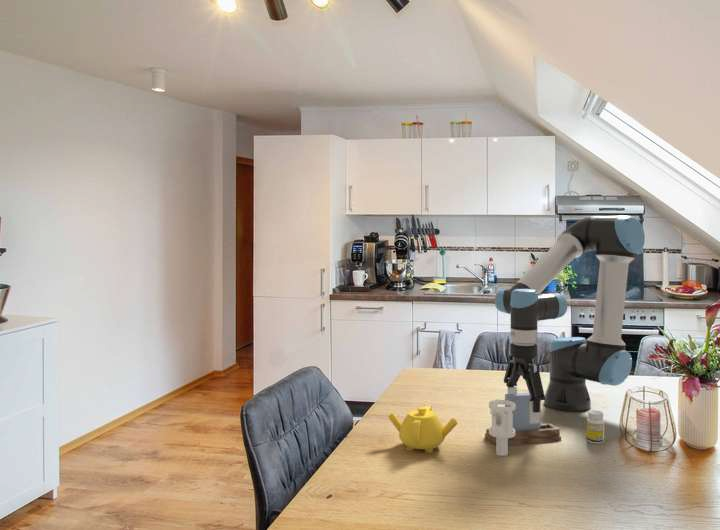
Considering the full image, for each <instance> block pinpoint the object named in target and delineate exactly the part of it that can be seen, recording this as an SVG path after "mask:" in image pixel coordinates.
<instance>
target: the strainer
mask: <svg viewBox="0 0 720 530" xmlns="http://www.w3.org/2000/svg"><path fill="white" fill-rule="evenodd" d="M498 405H504V406H498ZM505 405H510V406H511V407H505ZM488 408H489V411H490V414H491V426H490V427H488V429H489V434H490V435H491V436H493V437H496V445H495V448H496V449H495V454H496V455H498V456H501V457H502V456H503V457H504V456H508V455H509V454H508V453H509V451H508V449H509V448H508V447H509V445H508V438H512V437H514V436H515V432H516V431H515V429H514V428H513V414H512V411H513V410H515V409H516V404H515V403H514V402H511V401H507V400H505V399H495V400H494V399H493V400H490V401H489V402H488Z"/></svg>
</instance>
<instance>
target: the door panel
mask: <svg viewBox="0 0 720 530" xmlns="http://www.w3.org/2000/svg"><path fill="white" fill-rule="evenodd" d="M530 399H531V396H530V393H529V392H521V393H520V392H517V393H516V394H508V393H506V394H504V400H507V401H511V402H514V403H515V404H516V409H515V410H513V411H512V414H513V428H514V429H515V431H525V430H536V429H540V426H541V424H542V423H541V422H542V421H541V409H542V408H541V407H542V406H541V405H542V403H541V401H542V400H541V401H540V423H534V424H530V423H529V418H530V401H529V400H530ZM504 407H511V406H510V405H504Z"/></svg>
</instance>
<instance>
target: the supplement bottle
mask: <svg viewBox="0 0 720 530" xmlns="http://www.w3.org/2000/svg"><path fill="white" fill-rule="evenodd" d="M587 416H588V418H586V441H587V442H589V443H591V444H596V445H598V444H604V442H605V420H604V412H603V411H600V410H595V409H593V410H591V409H590V410H589V411H588V413H587Z"/></svg>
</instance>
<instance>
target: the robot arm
mask: <svg viewBox="0 0 720 530" xmlns="http://www.w3.org/2000/svg"><path fill="white" fill-rule="evenodd" d="M645 239H646V237H645V230H644V227H643V225H642V224H641V222H640V220H639V219H637V217H635V216H632V215H624V214H623V215H622V214H618V215H591V216H587V217H583V218H582V219H580V220H578V221H576V222H574V223H573V224H571V225H570V226H568V227H567V228H566V229H565V230H563V232H561V234H559V236H558V237H557V238H556V243H554V245H553V246H551V248H549V250H548V251H547V252H545V254H544V255H542V257H540V259H539V260H537V262H535V263H534V265H533V266H531V268H530V269H529V270H528V271H526V272H525V274H524V275H522V277H521V278H519V280H518V281H517V282H515V283H514V284H513V286H512V287H511V288H502V289H499V290H498V291H497V292H496V294H495V296H494V305H495V308H496V309H497V310H498V311H499V312H501V313H503V314H504V313H505V314H508V315H510V332H509V335H510V340H509V341H510V342H511V343H509V354H508V355H509V356H508V362H507V366H506V370H505V374H504V377H503V383H505V385H506V387H507V394H516V393H518V384H517V383H518V381H519V379H520V377H522V379H523V380H524V381H525V384H526V387H527V389H528V393H530V396H531V399H530V400H529V401H530V418H529V423H530V424H534V423H540V401H543V403H544V405H545V406H546V407H549V408H551V409H554V410H557V411H558V410H559V411H566V412H582V411H588V410H589V409H590V408H591V406H592V404H591V403H592V402H591V396H590V394H589V393H590V392H589V389H588V387H587V384H586V381H591V382H595V383H599V384H601V385H608V386H612V387H613V386H614V387H617V386H620V385H621V384H623V383H624V382H625V381H626V379H627V378H628V377H629V376H630V373H631V370H632V367H633V359H632V355H631V353H630V352H628V351H627V350H626V345H627V344H626V343H625V342H624V340H623V338H622V332H623V321H624V315H625V314H624V313H625V302H626V292H627V285H628V275H629V274H628V273H629V265H630V263H631V262H633V261H634V260H635V255H636V254H637V253H639V252H641V251H642V249H643V248H644V245H645ZM587 252H595V257H596V258H597V259H598V261H599V267H598V268H599V269H598V277H597V279H598V280H597V288H596V295H595V297H596V299H595V307H594V316H593V317H594V318H593V325H592V326H593V327H592V334H591V335H590V336H589V337H588V338H587V339H586V338H585V337H581V336H570V337H569V336H568V337H560V338H555V339H552V340H551V342H550V346H549V347H550V348H549V351H548V352H549V382H548V385H547V388H546V390H545V392H544V386H543V383H542V378H541V373H540V365H539V364H538V363H537V364H534V361H533V360H534V359H536V357H537V356H538V345H537V343H538V322H539V321H547V320H555V319H558V318H562V317H563V316H565V314H566V312H567V311H568V302H567V299H566V298H565V296H564V295H563V294H561V293H558V292H557V293H556V292H550V293H542V292H543V291H544V290H545V289H546V287H548V286H549V284H550V283H551V282H553V281H554V279H555V278H556V277H557V276H558V275H559V274H560V273H561V272H562V271H563V270H564V269H565V268H566V267H567V266H569V264H570V263H571V262H572V261H573V260H574V259H577V258H580V257H581V256H582V255H583V254H584V253H587Z"/></svg>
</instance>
